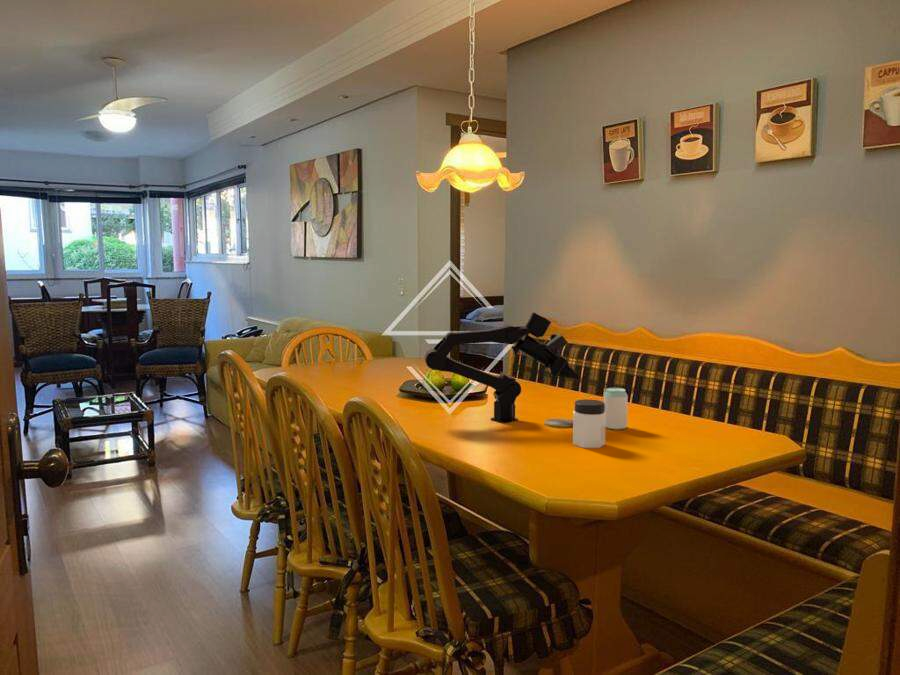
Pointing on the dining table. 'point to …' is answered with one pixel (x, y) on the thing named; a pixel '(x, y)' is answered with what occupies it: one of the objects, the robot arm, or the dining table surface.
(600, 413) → the jar
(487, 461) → the dining table surface
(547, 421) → the coaster
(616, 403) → the can
